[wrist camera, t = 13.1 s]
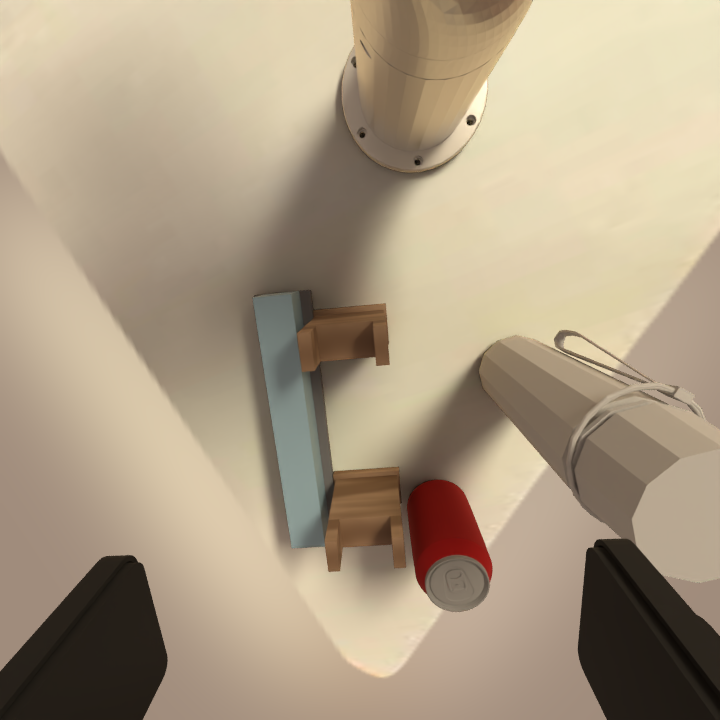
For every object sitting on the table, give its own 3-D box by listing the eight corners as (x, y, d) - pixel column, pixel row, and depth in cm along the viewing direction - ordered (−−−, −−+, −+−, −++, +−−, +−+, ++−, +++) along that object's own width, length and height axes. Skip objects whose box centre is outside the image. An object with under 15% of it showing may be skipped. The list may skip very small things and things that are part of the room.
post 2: (333, 471, 45) (321, 536, 34) (398, 467, 44) (406, 531, 34) (337, 503, 46) (326, 576, 35) (401, 499, 45) (409, 572, 35)
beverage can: (414, 534, 46) (428, 626, 35) (399, 483, 45) (407, 561, 33) (472, 521, 46) (506, 609, 34) (458, 469, 44) (489, 542, 33)
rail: (264, 294, 40) (252, 297, 36) (299, 290, 40) (291, 294, 36) (298, 524, 46) (291, 548, 42) (329, 522, 46) (325, 546, 42)
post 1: (314, 309, 41) (292, 327, 30) (385, 303, 40) (389, 318, 30) (318, 348, 42) (299, 378, 31) (388, 342, 41) (393, 370, 31)
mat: (255, 295, 41) (253, 295, 40) (310, 290, 40) (309, 290, 40) (290, 521, 47) (289, 525, 46) (338, 518, 46) (338, 522, 46)
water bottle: (525, 414, 43) (725, 618, 18) (460, 380, 42) (578, 544, 18) (575, 339, 40) (878, 454, 16) (508, 302, 40) (718, 364, 16)
